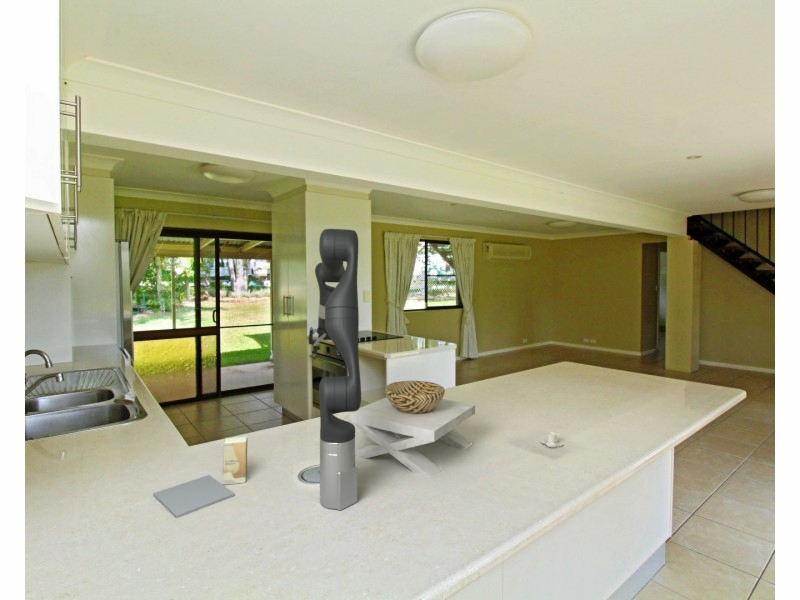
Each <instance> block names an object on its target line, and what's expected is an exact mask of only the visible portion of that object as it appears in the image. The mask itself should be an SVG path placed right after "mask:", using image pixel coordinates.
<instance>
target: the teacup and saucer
mask: <svg viewBox="0 0 800 600" xmlns="http://www.w3.org/2000/svg"><path fill="white" fill-rule="evenodd" d="M546 436H547V438H546V439H547V440H548V441H546V443H545V444H546V445H547V446H546V447H549V448H553V447H556V446H558V444H557V442H555V441H556V440H557V433H556V432H553V431H548V432H547V433H546Z"/></svg>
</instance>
